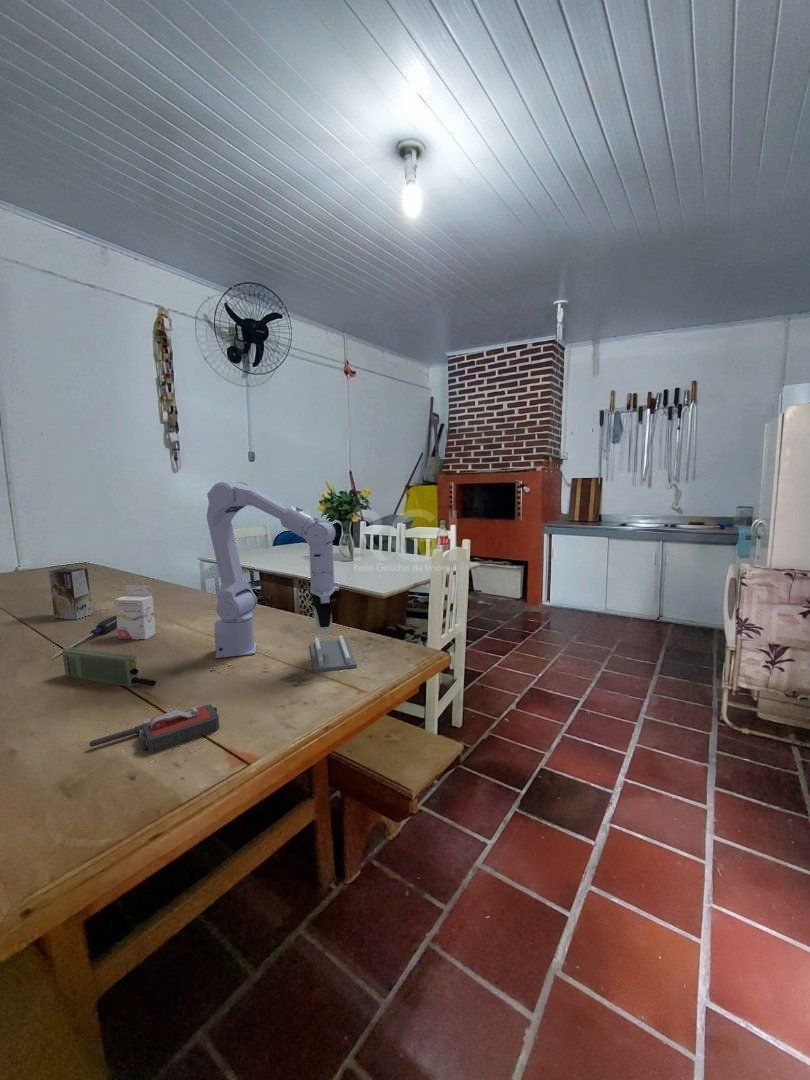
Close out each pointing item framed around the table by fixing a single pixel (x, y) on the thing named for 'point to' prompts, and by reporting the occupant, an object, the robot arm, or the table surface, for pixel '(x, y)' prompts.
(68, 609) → the coffee box
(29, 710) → the table surface
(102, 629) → the screwdriver
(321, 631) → the block
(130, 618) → the ink cartridge box
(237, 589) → the robot arm
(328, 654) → the rail dock
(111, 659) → the handheld radio
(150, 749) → the walkie-talkie
